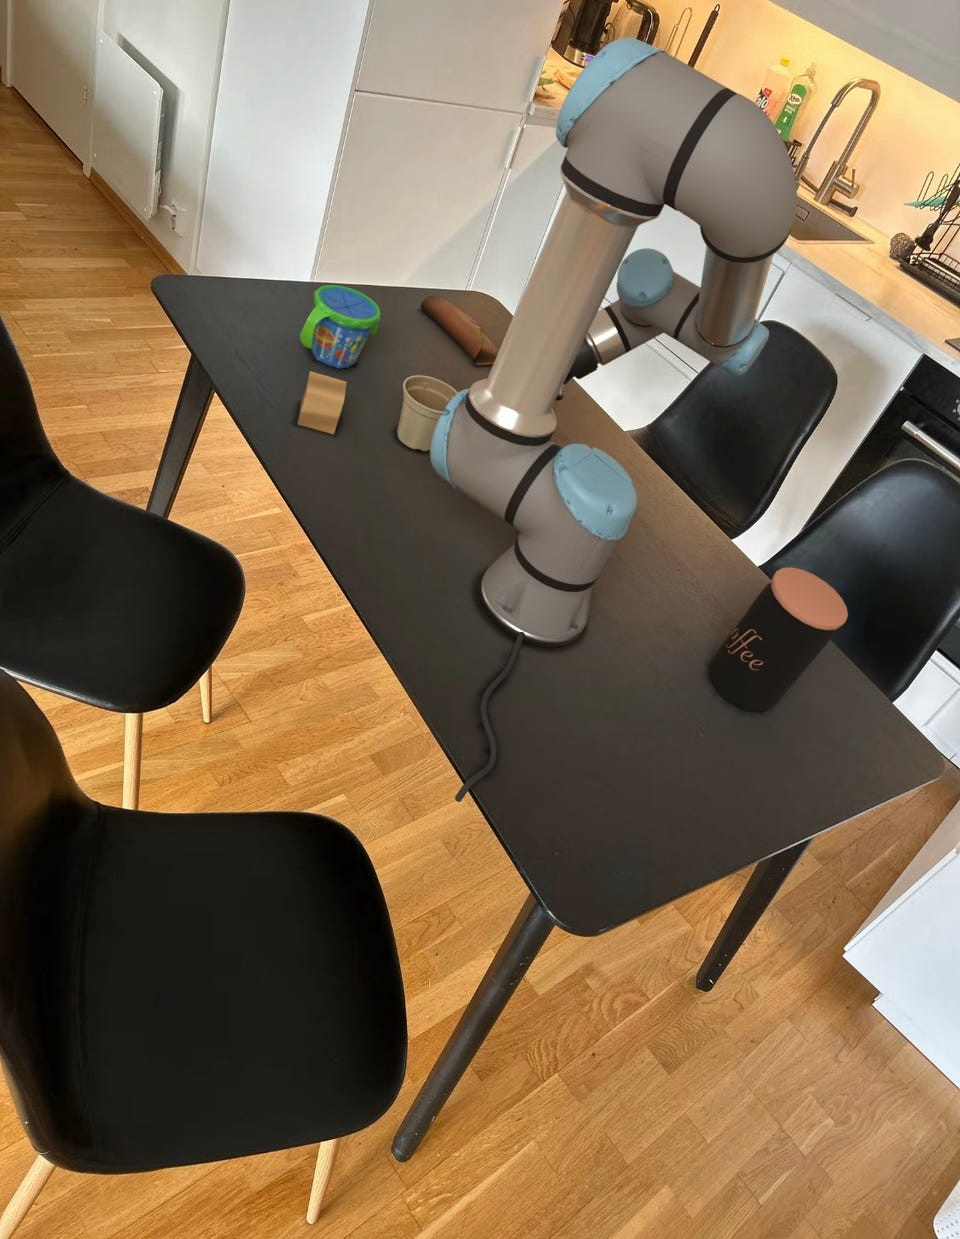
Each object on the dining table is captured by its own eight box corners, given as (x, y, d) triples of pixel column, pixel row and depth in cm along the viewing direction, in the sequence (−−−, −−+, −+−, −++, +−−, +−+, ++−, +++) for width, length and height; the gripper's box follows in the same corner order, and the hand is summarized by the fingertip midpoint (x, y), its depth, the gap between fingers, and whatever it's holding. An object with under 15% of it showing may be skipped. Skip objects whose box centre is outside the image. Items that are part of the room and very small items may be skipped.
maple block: (334, 434, 145) (344, 401, 142) (297, 424, 144) (306, 390, 140) (336, 414, 149) (346, 381, 146) (300, 404, 148) (310, 370, 144)
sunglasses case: (508, 361, 181) (505, 334, 175) (477, 380, 179) (474, 354, 173) (452, 307, 188) (448, 280, 183) (422, 325, 187) (417, 298, 181)
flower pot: (450, 436, 156) (467, 391, 151) (438, 466, 149) (456, 420, 144) (394, 414, 155) (411, 367, 150) (380, 443, 148) (397, 395, 143)
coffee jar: (700, 649, 140) (767, 557, 128) (766, 669, 142) (837, 580, 130) (710, 704, 132) (782, 611, 120) (780, 724, 134) (857, 635, 122)
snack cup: (349, 335, 168) (365, 281, 162) (387, 370, 164) (405, 316, 158) (275, 344, 158) (289, 286, 151) (313, 381, 154) (329, 324, 147)
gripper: (611, 387, 147) (474, 463, 150) (582, 340, 155) (452, 413, 159) (596, 351, 141) (453, 431, 145) (566, 304, 149) (432, 380, 153)
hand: (453, 421), depth 152 cm, fingers closed
